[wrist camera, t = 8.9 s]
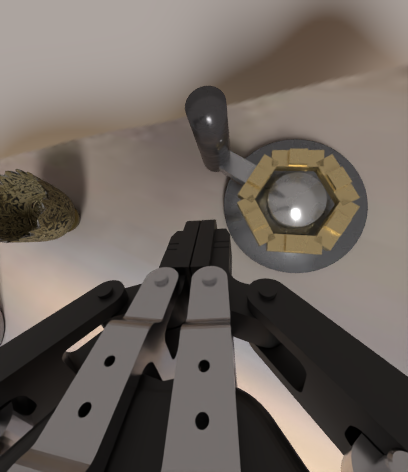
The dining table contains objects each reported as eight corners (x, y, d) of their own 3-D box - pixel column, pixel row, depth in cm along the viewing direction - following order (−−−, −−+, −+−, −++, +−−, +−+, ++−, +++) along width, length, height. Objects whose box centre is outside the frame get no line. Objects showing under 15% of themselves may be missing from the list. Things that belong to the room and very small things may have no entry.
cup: (41, 204, 30) (-28, 184, 23) (87, 184, 30) (33, 157, 22) (52, 255, 29) (-17, 252, 21) (100, 236, 28) (48, 227, 21)
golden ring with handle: (177, 194, 26) (145, 159, 17) (234, 110, 26) (231, 33, 17) (307, 278, 23) (351, 289, 14) (371, 182, 23) (456, 132, 14)
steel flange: (259, 294, 25) (261, 298, 22) (204, 179, 27) (200, 169, 24) (390, 237, 23) (412, 233, 20) (319, 121, 26) (330, 104, 23)
